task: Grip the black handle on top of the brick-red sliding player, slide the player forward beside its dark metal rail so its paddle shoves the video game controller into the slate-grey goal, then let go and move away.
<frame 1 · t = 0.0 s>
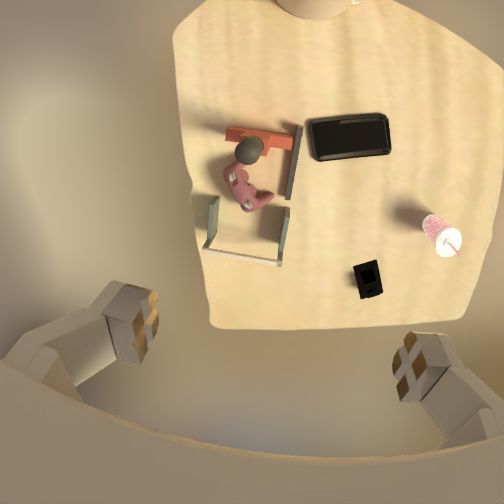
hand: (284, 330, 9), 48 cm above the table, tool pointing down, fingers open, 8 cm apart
rail: (293, 164, 53), on the table
black piece: (368, 278, 63), on the table
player: (255, 142, 42), point 10 cm above the table, slide at 0.0 cm
phone: (350, 136, 49), on the table
video game controller: (250, 180, 56), on the table
beverage cup: (431, 223, 54), on the table
goal: (249, 220, 59), on the table
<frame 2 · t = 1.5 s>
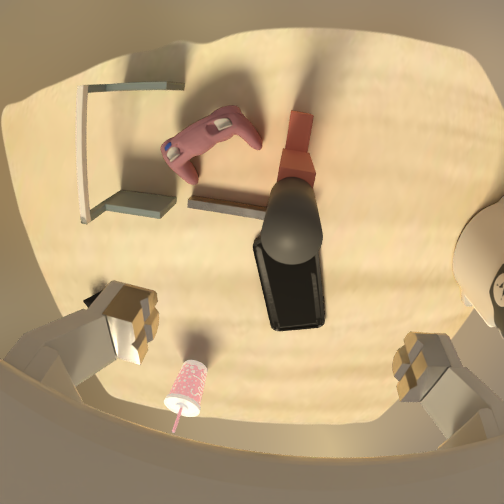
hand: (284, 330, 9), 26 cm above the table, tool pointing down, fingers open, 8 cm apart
rail: (244, 207, 35), on the table
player: (292, 184, 23), point 10 cm above the table, slide at 0.0 cm
phone: (292, 282, 39), on the table
video game controller: (216, 142, 32), on the table
beverage cup: (195, 367, 51), on the table
goal: (148, 142, 32), on the table
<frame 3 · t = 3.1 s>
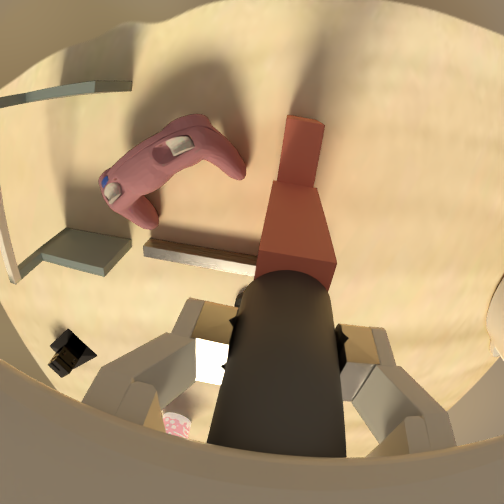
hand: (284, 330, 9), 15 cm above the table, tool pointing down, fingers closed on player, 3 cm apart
rail: (221, 255, 25), on the table
black piece: (73, 347, 37), on the table
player: (287, 256, 13), point 10 cm above the table, slide at 0.0 cm, touching gripper
video game controller: (180, 168, 22), on the table
beverage cup: (177, 418, 41), on the table
goal: (90, 166, 22), on the table
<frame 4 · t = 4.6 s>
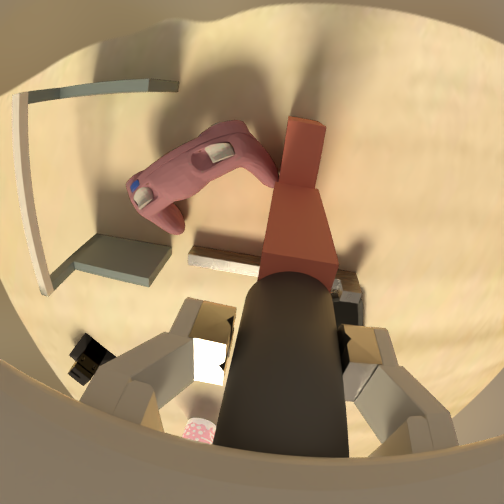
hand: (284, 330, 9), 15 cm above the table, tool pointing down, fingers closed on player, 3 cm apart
rail: (268, 263, 25), on the table
black piece: (93, 353, 37), on the table
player: (290, 257, 13), point 10 cm above the table, slide at 3.8 cm, touching gripper, video game controller
phone: (324, 347, 30), on the table
video game controller: (209, 173, 22), on the table, touching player
beverage cup: (202, 423, 41), on the table
goal: (128, 170, 22), on the table
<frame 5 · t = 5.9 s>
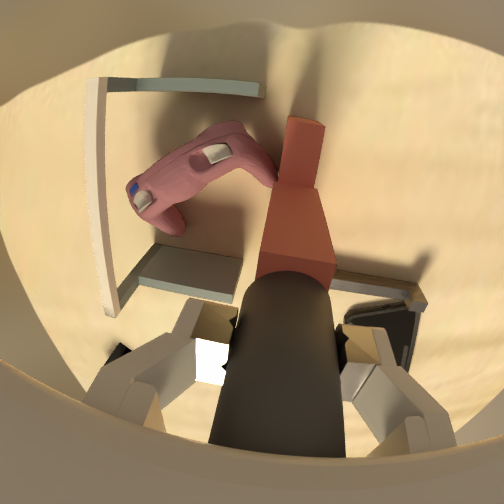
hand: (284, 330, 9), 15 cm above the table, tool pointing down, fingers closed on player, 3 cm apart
rail: (341, 275, 25), on the table
black piece: (128, 364, 36), on the table
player: (288, 257, 13), point 10 cm above the table, slide at 10.2 cm, touching gripper, video game controller
phone: (377, 353, 29), on the table
video game controller: (209, 174, 22), on the table, touching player
goal: (201, 177, 22), on the table
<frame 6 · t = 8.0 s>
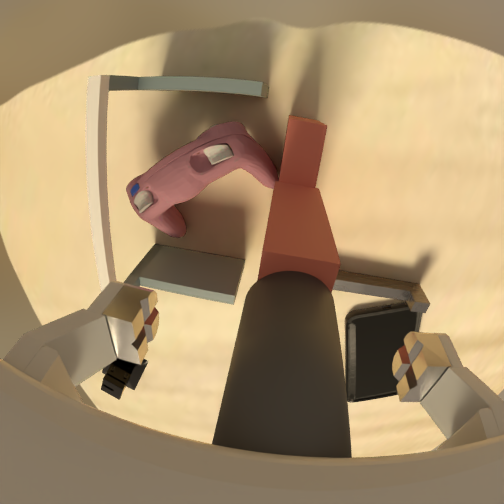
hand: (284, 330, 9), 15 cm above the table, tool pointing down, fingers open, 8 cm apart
rail: (343, 276, 24), on the table
black piece: (125, 364, 36), on the table
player: (290, 257, 13), point 10 cm above the table, slide at 10.4 cm
phone: (379, 353, 29), on the table
video game controller: (209, 175, 22), on the table
goal: (202, 177, 22), on the table
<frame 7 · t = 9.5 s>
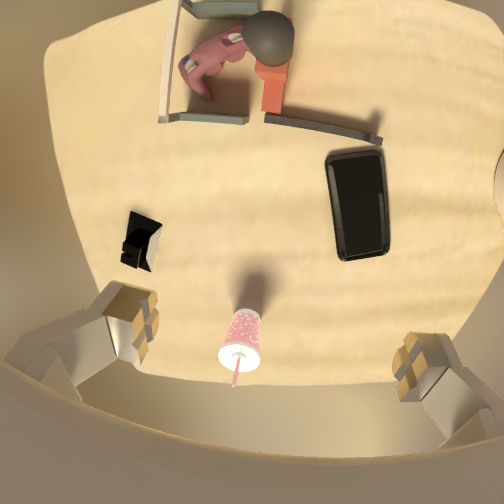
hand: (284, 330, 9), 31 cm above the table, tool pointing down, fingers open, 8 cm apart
rail: (318, 126, 33), on the table
black piece: (142, 241, 45), on the table
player: (275, 56, 22), point 10 cm above the table, slide at 10.2 cm
phone: (359, 205, 38), on the table
video game controller: (228, 65, 31), on the table
beverage cup: (247, 318, 49), on the table
goal: (222, 64, 31), on the table
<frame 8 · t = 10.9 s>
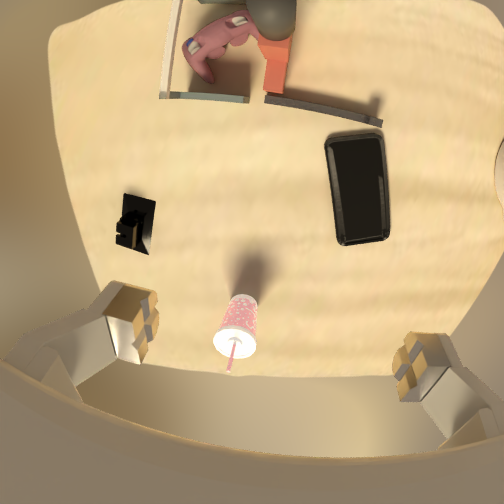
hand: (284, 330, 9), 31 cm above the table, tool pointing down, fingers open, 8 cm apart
rail: (318, 108, 33), on the table
black piece: (138, 223, 44), on the table
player: (277, 34, 21), point 10 cm above the table, slide at 10.0 cm
phone: (359, 189, 37), on the table
video game controller: (231, 49, 30), on the table
beverage cup: (243, 304, 48), on the table
goal: (224, 47, 30), on the table
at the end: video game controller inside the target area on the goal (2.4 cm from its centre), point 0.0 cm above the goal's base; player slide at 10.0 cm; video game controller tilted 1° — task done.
